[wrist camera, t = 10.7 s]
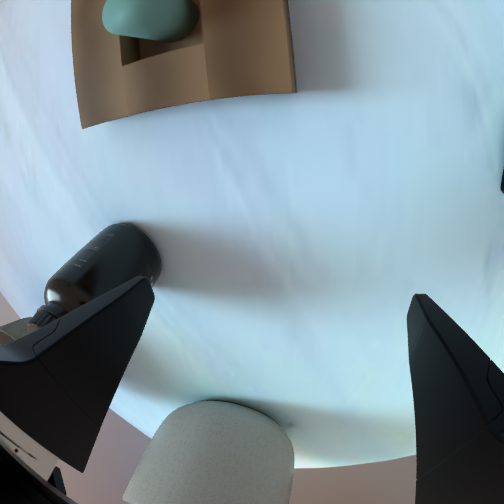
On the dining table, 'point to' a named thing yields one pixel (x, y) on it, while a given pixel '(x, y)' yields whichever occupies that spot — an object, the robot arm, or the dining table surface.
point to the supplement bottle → (98, 271)
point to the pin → (151, 18)
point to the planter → (215, 459)
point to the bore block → (181, 59)
